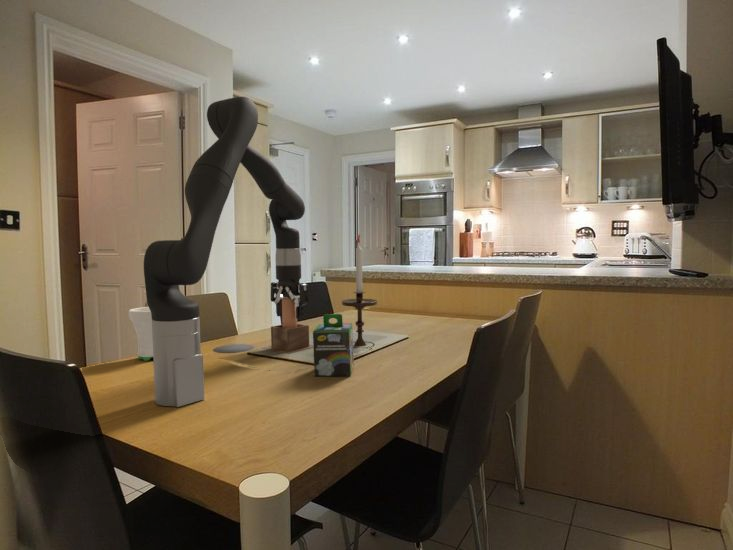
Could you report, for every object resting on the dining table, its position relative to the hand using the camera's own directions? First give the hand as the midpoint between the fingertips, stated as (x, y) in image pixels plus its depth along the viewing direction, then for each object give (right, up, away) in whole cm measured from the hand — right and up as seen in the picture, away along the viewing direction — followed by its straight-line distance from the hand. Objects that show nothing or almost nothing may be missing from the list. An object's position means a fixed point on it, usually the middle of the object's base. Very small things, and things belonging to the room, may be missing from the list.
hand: (289, 317), depth 143 cm
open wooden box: (0, -10, +1) cm, 10 cm away
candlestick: (+21, -10, +3) cm, 23 cm away
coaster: (-17, -10, 0) cm, 20 cm away
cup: (-38, -11, -7) cm, 40 cm away
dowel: (0, -9, +1) cm, 9 cm away
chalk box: (+15, -12, -24) cm, 31 cm away
